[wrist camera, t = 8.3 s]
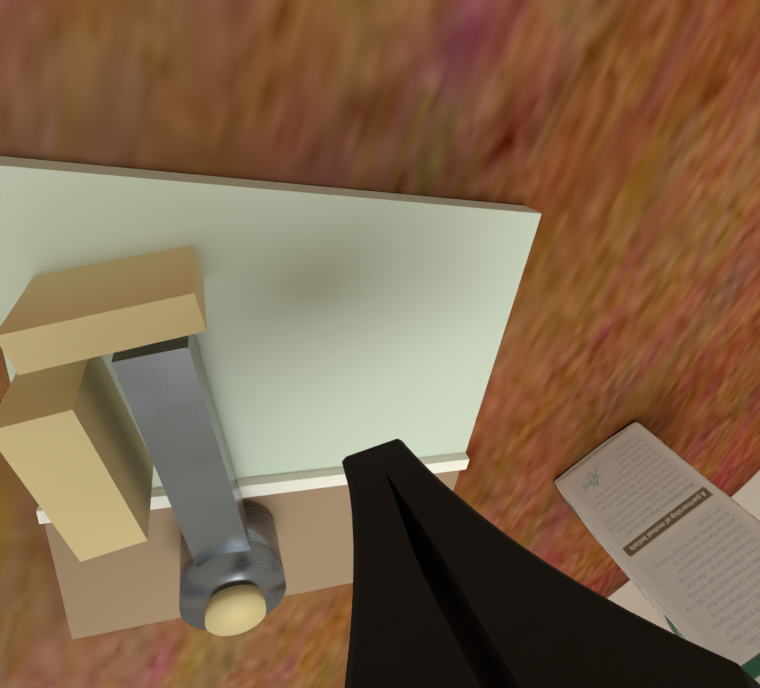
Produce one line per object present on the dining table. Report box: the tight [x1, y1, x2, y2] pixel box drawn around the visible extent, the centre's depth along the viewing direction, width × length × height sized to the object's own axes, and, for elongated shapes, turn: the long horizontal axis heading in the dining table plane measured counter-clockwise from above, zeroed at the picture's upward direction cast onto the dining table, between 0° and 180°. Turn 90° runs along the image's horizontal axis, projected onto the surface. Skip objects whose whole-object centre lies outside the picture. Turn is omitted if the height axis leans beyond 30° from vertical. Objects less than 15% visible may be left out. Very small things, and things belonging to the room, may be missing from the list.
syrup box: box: [554, 422, 760, 684], centre depth 22 cm, size 6×6×14 cm
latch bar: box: [111, 334, 286, 630], centre depth 16 cm, size 12×4×3 cm, turn 1°
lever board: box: [0, 156, 541, 639], centre depth 17 cm, size 16×18×5 cm
